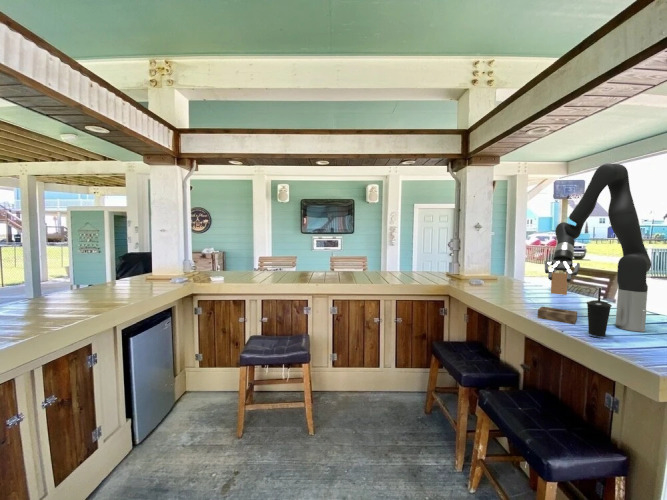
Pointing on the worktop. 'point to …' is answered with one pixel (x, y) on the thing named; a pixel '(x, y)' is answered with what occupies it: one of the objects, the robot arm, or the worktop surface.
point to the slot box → (557, 315)
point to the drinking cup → (598, 316)
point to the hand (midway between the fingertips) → (559, 280)
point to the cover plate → (559, 283)
